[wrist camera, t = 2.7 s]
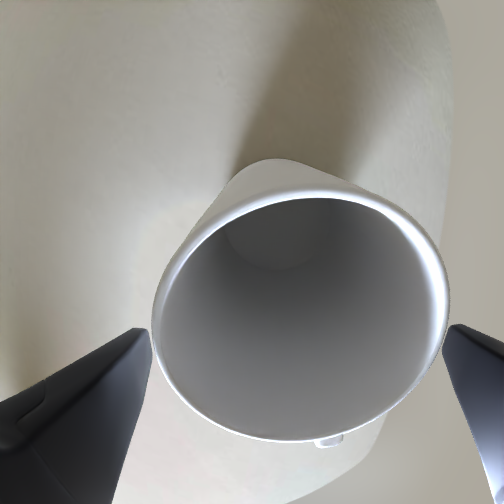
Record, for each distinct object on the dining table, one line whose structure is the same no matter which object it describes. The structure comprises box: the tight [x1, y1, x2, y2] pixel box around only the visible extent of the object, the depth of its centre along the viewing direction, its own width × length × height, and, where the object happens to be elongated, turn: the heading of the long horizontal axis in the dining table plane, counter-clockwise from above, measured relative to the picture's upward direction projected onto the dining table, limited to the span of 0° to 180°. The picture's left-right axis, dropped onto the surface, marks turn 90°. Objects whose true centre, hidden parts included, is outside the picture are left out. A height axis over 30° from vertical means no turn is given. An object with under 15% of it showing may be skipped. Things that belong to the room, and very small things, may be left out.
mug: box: [151, 159, 450, 448], centre depth 13 cm, size 10×7×12 cm, turn 15°
